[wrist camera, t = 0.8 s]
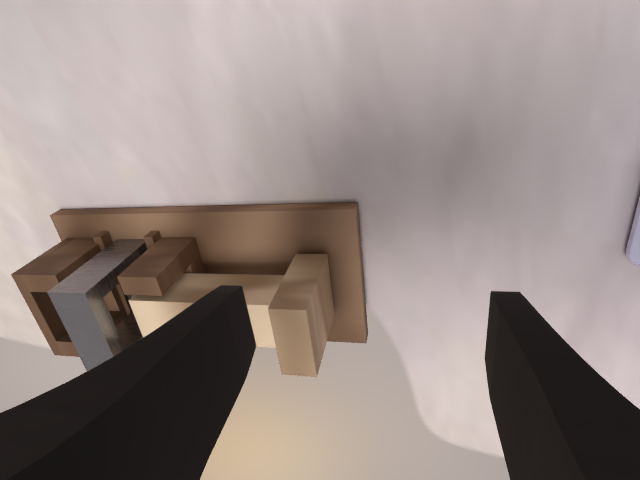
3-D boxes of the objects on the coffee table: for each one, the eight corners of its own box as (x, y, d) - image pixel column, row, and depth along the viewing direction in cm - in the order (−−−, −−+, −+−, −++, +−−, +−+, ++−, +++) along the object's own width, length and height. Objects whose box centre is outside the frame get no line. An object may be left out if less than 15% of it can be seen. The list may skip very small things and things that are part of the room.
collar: (148, 238, 23) (84, 293, 18) (174, 313, 25) (123, 377, 21) (116, 239, 23) (47, 292, 19) (144, 312, 25) (88, 374, 21)
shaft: (327, 254, 20) (306, 310, 17) (334, 313, 22) (316, 376, 18) (162, 253, 22) (110, 303, 19) (180, 307, 24) (136, 363, 20)
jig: (357, 202, 20) (342, 250, 16) (367, 333, 24) (357, 399, 20) (60, 209, 24) (-11, 249, 20) (109, 320, 28) (57, 373, 24)
